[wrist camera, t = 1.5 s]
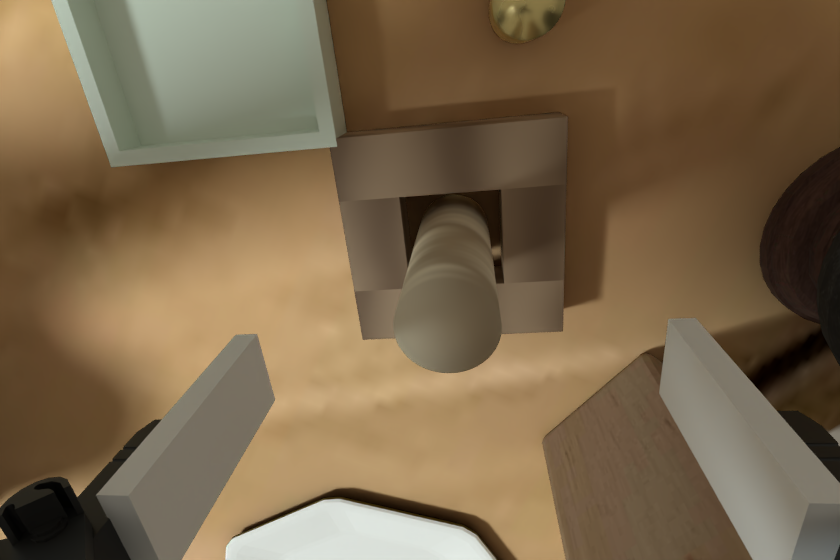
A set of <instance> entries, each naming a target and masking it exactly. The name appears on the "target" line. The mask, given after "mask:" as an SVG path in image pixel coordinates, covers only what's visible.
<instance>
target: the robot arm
mask: <svg viewBox="0 0 840 560" xmlns="http://www.w3.org/2000/svg"><path fill="white" fill-rule="evenodd" d="M659 394H660V396H661V398H662V399H663V401H664V403H665V405H666V407H667V408H668V410H669V412H670V414H671V415H672V417H673V419H674V421H675V423H676V424H677V426H678V428H679V430H680V431H681V433H682V435H683V437H684V439H685V440H686V442H687V444H688V446H689V447H690V449H691V451H692V453H693V455H694V456H695V458H696V460H697V462H698V463H699V465H700V467H701V469H702V471H703V472H704V474H705V476H706V478H707V479H708V481H709V483H710V485H711V486H712V488H713V490H714V492H715V494H716V495H717V497H718V499H719V501H720V502H721V504H722V506H723V508H724V510H725V511H726V513H727V515H728V517H729V518H730V520H731V522H732V524H733V526H734V527H735V529H736V531H737V533H738V534H739V536H740V538H741V540H742V542H743V543H744V545H745V547H746V549H747V550H748V552H749V554H750V556H751V558H752V559H753V560H840V446H838V442H837V441H836V440H835V439H834V438H833V437H832V436H831V435H830V434H829V433H828V432H827V431H826V430H825V429H824V428H823V427H822V426H821V425H820V424H818V423H816V422H815V421H813V420H812V419H810V418H808V417H807V416H805V415H804V414H802V413H800V412H799V411H776V410H775V408H774V407H773V406H772V405H771V404H770V403H769V401H768V400H767V399H766V398H765V397H764V396H763V395H762V393H761V392H760V391H759V390H758V389H757V388H756V387H755V385H754V384H753V383H752V382H751V381H750V380H749V379H748V377H747V376H746V375H745V374H744V373H743V372H742V371H741V369H740V368H739V367H738V366H737V365H736V364H735V363H734V361H733V360H732V359H731V358H730V357H729V356H728V355H727V353H726V352H725V351H724V350H723V349H722V348H721V346H720V345H719V344H718V343H717V342H716V341H715V340H714V338H713V337H712V336H711V335H710V334H709V333H708V332H707V330H706V329H705V328H704V327H703V326H702V325H701V324H700V322H699V321H698V320H697V319H696V318H679V319H668V326H667V334H666V342H665V350H664V358H663V366H662V374H661V382H660V390H659ZM274 401H275V397H274V394H273V390H272V387H271V383H270V379H269V376H268V372H267V368H266V365H265V361H264V358H263V354H262V350H261V347H260V343H259V339H258V336H257V334H244V335H235V336H234V337H233V339H232V340H231V341H230V342H229V343H228V344H227V345H226V347H225V348H224V349H223V350H222V351H221V352H220V353H219V355H218V356H217V357H216V358H215V359H214V360H213V361H212V363H211V364H210V365H209V366H208V367H207V368H206V369H205V371H204V372H203V373H202V374H201V375H200V376H199V378H198V379H197V380H196V381H195V382H194V383H193V384H192V386H191V387H190V388H189V389H188V390H187V391H186V392H185V394H184V395H183V396H182V397H181V398H180V399H179V400H178V402H177V403H176V404H175V405H174V406H173V407H172V408H171V410H170V411H169V412H168V413H167V414H166V415H165V417H164V418H163V419H162V420H154V421H152V422H151V423H149V424H148V425H147V426H145V427H144V428H142V429H141V430H139V431H138V432H137V433H136V434H135V435H134V436H133V437H132V438H131V439H130V440H129V441H128V442H127V444H126V445H125V446H124V447H123V450H120V451H119V452H118V453H117V455H116V456H115V457H114V458H113V461H112V462H109V463H108V464H107V466H106V467H105V468H104V469H103V470H102V471H101V472H100V473H99V474H98V475H97V477H96V478H95V479H94V480H93V481H92V482H91V483H90V484H89V485H88V486H87V488H86V489H85V490H84V491H83V492H82V493H81V494H80V495H79V496H78V497H77V496H76V495H75V493H74V491H73V489H72V487H71V485H70V483H69V482H68V480H67V479H65V478H62V477H53V478H47V479H44V480H41V481H38V482H35V483H33V484H31V485H29V486H27V487H25V488H23V489H21V490H20V491H19V492H17V493H16V494H14V495H13V496H12V497H10V498H9V499H8V500H7V501H6V502H5V503H4V504H3V505H2V506H1V507H0V528H1V529H2V531H3V532H4V534H5V535H6V537H7V539H3V540H0V560H182V558H183V556H184V555H185V553H186V551H187V549H188V548H189V546H190V544H191V543H192V541H193V539H194V538H195V536H196V534H197V532H198V531H199V529H200V527H201V526H202V524H203V522H204V520H205V519H206V517H207V515H208V514H209V512H210V510H211V509H212V507H213V505H214V503H215V502H216V500H217V498H218V497H219V495H220V493H221V491H222V490H223V488H224V486H225V485H226V483H227V481H228V480H229V478H230V476H231V474H232V473H233V471H234V469H235V468H236V466H237V464H238V462H239V461H240V459H241V457H242V456H243V454H244V452H245V451H246V449H247V447H248V445H249V444H250V442H251V440H252V439H253V437H254V435H255V433H256V432H257V430H258V428H259V427H260V425H261V423H262V422H263V420H264V418H265V416H266V415H267V413H268V411H269V410H270V408H271V406H272V404H273V403H274Z"/></svg>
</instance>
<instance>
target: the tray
mask: <svg viewBox="0 0 840 560" xmlns="http://www.w3.org/2000/svg"><path fill="white" fill-rule="evenodd" d="M51 1H52V4H53V6H54V9H55V12H56V15H57V18H58V20H59V23H60V26H61V29H62V31H63V34H64V37H65V40H66V43H67V45H68V48H69V51H70V54H71V57H72V59H73V62H74V65H75V68H76V70H77V73H78V76H79V79H80V82H81V84H82V87H83V90H84V93H85V96H86V98H87V101H88V104H89V107H90V109H91V112H92V115H93V118H94V121H95V123H96V126H97V129H98V132H99V135H100V137H101V140H102V143H103V146H104V149H105V151H106V154H107V157H108V160H109V162H110V165H111V167H120V166H131V165H142V164H153V163H164V162H175V161H186V160H197V159H207V158H218V157H229V156H240V155H251V154H262V153H273V152H284V151H295V150H306V149H316V148H327V147H337V142H336V138H338V137H340V136H341V135H343V134H345V133H347V130H346V123H345V117H344V110H343V104H342V97H341V91H340V85H339V78H338V72H337V65H336V59H335V53H334V46H333V40H332V33H331V27H330V21H329V14H328V8H327V1H326V0H51Z"/></svg>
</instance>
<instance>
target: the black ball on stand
mask: <svg viewBox="0 0 840 560" xmlns="http://www.w3.org/2000/svg"><path fill="white" fill-rule="evenodd" d="M760 266H761V270H762V274H763V278H764V280H765V282H766V284H767V286H768V288H769V289H770V291H771V293H772V294H773V295H774V296H775V297H776V298H777V299H778V300H779V301H780V302H781V303H782V304H783V305H784V306H786V307H787V308H788V309H790V310H791V311H793V312H794V313H796V314H798V315H799V316H801V317H802V318H804V319H807V320H810V321H813V322H815V323H818V324H820V325H821V330H822V334H823V336H824V338H825V340H826V341H827V343H828V345H829V347H830V349H831V351H832V353H833V354H834V356H835V358H836V360H837V362H838V364H839V365H840V147H839V148H837V149H836V150H834V151H832V152H830V153H829V154H827V155H825V156H824V157H822V158H820V159H819V160H818V161H817V162H815V163H814V164H813V165H812V166H810V167H809V168H808V169H806V170H805V171H804V172H803V173H801V174H800V176H799V177H798V178H797V179H796V180H795V181H794V182H793V183H792V184H791V185H790V186H789V187H788V188H787V189H786V190H785V192H784V193H783V195H782V196H781V198H780V199H779V201H778V202H777V203H776V205H775V206H774V208H773V209H772V212H771V214H770V216H769V218H768V220H767V223H766V225H765V227H764V231H763V235H762V239H761V244H760Z"/></svg>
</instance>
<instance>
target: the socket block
mask: <svg viewBox="0 0 840 560" xmlns="http://www.w3.org/2000/svg"><path fill="white" fill-rule="evenodd" d="M336 142H337V147H330V152H331V157H332V163H333V169H334V175H335V181H336V186H337V192H338V198H339V204H340V210H341V216H342V221H343V227H344V233H345V239H346V245H347V250H348V256H349V262H350V268H351V274H352V279H353V285H354V291H355V297H356V303H357V309H358V314H359V320H360V326H361V332H362V338H363V340H367V339H391V338H395V334H394V327H393V322H394V315H395V311H396V308H397V304H398V301H399V297H400V294H401V290H402V287H403V283H404V280H405V276H406V273H407V269H408V266H409V262H410V259H411V255H412V247H411V239H410V230H409V221H408V212H407V204H406V197H409V196H422V195H435V194H448V193H461V192H474V191H487V190H499V213H500V243H501V266H500V267H494V272H495V279H496V287H497V294H498V301H499V308H500V316H501V324H502V331H501V334H512V333H537V332H561V331H563V306H564V265H565V224H566V183H567V142H568V117H567V116H565V115H564V114H562V113H560V112H555V113H545V114H534V115H524V116H513V117H503V118H492V119H482V120H471V121H461V122H450V123H440V124H429V125H419V126H408V127H398V128H387V129H377V130H366V131H356V132H347V133H345V134H343V135H341V136H340V137H338V138H336Z"/></svg>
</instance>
